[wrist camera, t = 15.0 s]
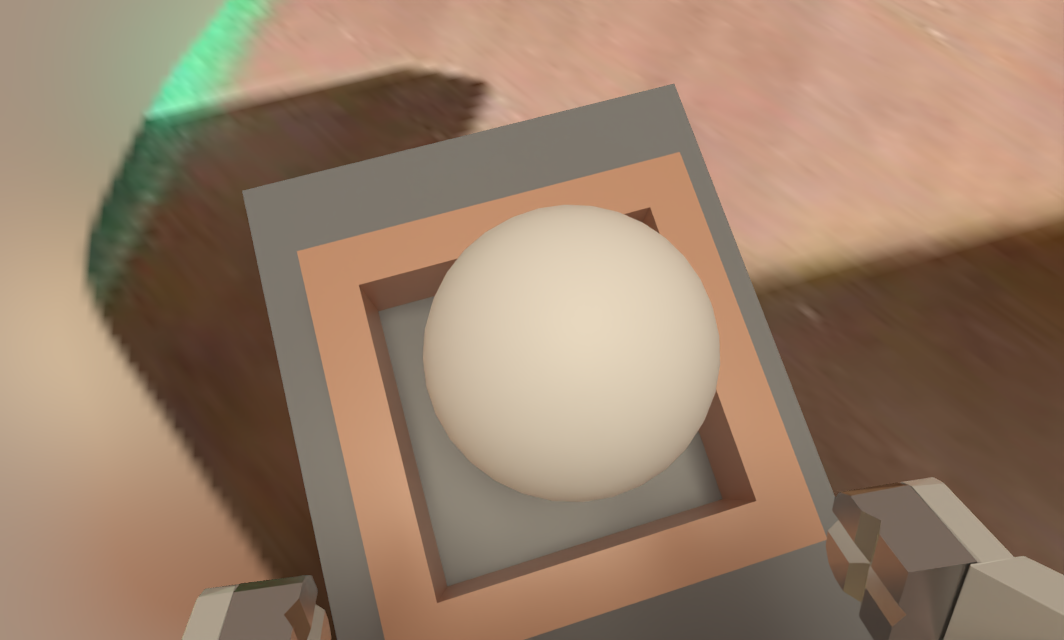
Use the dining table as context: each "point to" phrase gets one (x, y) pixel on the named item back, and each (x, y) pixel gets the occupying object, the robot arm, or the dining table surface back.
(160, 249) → the dining table surface
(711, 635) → the board
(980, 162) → the dining table surface
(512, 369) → the lightbulb
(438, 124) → the dining table surface
